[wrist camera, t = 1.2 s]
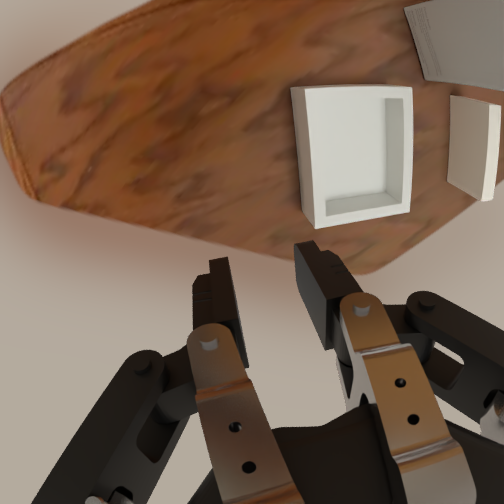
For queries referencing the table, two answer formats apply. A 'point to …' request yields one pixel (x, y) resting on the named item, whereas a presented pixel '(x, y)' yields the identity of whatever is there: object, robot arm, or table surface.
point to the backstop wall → (474, 146)
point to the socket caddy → (353, 151)
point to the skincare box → (460, 41)
